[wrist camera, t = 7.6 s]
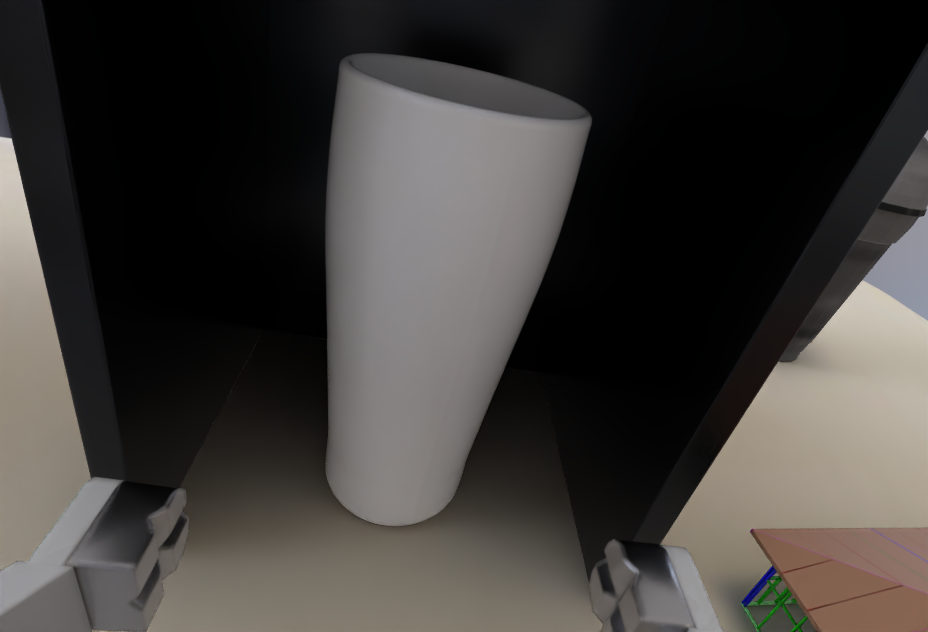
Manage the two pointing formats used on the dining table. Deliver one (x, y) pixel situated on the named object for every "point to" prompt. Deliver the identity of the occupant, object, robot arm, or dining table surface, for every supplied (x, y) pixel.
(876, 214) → the beverage cup
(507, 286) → the drinking glass
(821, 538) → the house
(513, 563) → the dining table surface
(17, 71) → the black coffee maker
